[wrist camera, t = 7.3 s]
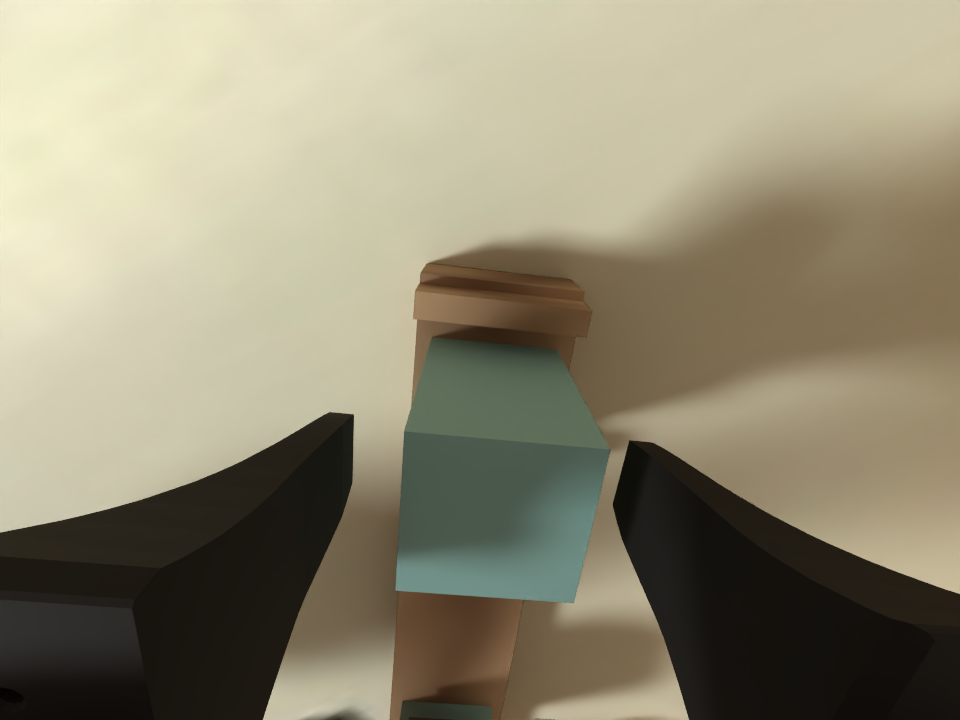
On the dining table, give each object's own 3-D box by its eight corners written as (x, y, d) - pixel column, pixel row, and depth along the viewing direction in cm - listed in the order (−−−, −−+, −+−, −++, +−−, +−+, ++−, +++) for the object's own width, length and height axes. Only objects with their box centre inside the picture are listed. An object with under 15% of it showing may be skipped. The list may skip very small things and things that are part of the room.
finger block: (422, 461, 16) (394, 610, 10) (431, 336, 14) (404, 431, 9) (535, 471, 16) (569, 622, 10) (556, 349, 14) (610, 449, 9)
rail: (393, 724, 24) (355, 971, 16) (426, 263, 15) (382, 329, 8) (487, 729, 24) (494, 975, 16) (571, 279, 16) (661, 358, 8)
